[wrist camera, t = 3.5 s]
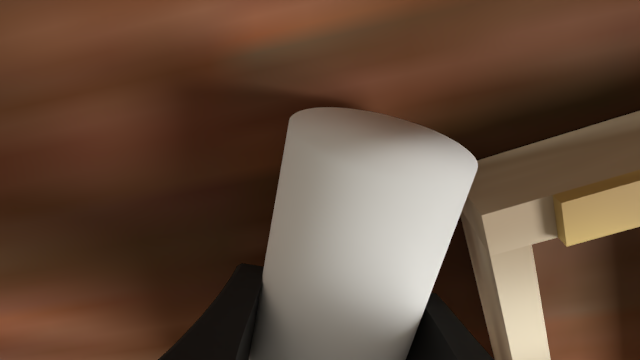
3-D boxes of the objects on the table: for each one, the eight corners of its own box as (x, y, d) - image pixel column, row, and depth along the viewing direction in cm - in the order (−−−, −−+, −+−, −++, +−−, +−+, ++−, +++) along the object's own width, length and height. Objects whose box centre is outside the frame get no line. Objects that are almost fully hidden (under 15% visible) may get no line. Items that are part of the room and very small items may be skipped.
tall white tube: (370, 408, 15) (355, 540, 11) (259, 372, 15) (210, 488, 12) (467, 135, 11) (492, 203, 7) (312, 96, 11) (262, 142, 8)
